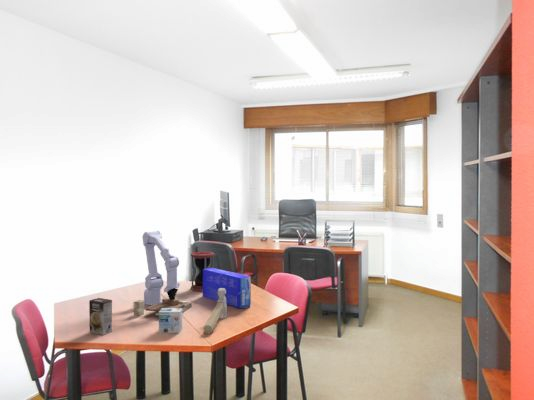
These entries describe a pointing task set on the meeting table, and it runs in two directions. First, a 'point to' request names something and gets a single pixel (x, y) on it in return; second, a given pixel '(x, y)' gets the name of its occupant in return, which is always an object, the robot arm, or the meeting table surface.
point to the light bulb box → (170, 320)
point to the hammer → (217, 311)
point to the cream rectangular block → (138, 307)
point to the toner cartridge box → (227, 286)
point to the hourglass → (202, 263)
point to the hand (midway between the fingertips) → (172, 301)
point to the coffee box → (100, 316)
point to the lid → (165, 305)
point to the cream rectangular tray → (186, 307)
